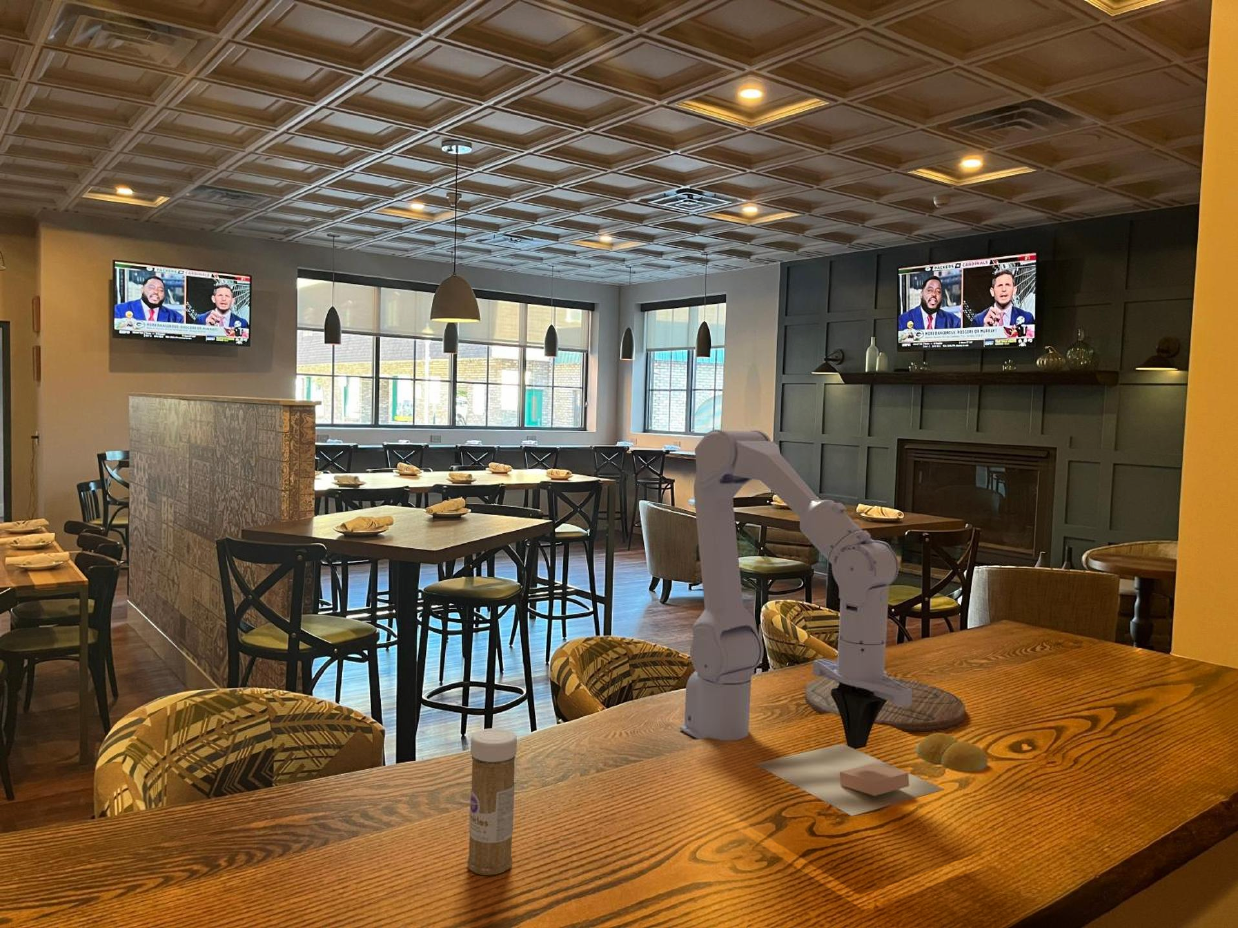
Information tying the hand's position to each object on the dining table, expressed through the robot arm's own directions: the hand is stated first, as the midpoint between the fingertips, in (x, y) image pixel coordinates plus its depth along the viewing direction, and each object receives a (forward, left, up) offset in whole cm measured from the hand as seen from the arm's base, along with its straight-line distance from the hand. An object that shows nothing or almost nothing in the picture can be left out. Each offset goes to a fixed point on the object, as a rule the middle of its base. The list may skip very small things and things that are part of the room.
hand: (856, 746), depth 112 cm
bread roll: (0, +18, -6) cm, 19 cm away
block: (0, 0, -3) cm, 3 cm away
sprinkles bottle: (-3, -48, -6) cm, 48 cm away
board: (-1, 0, -5) cm, 5 cm away
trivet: (-21, +29, -6) cm, 37 cm away
